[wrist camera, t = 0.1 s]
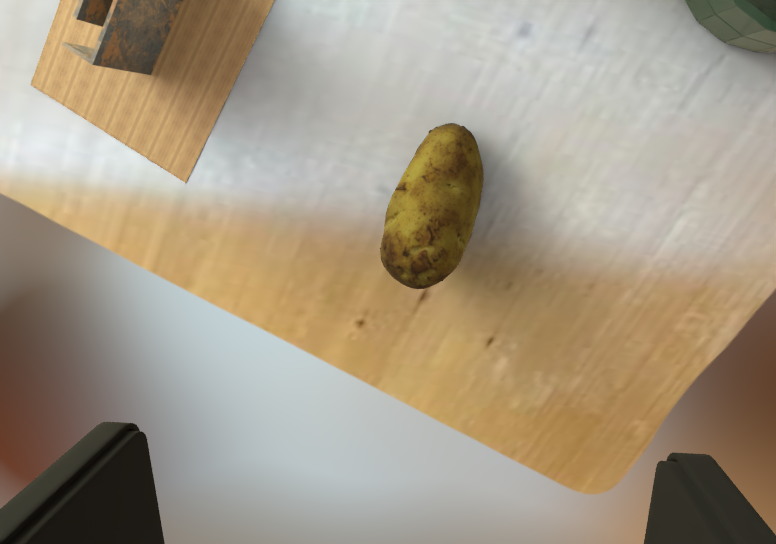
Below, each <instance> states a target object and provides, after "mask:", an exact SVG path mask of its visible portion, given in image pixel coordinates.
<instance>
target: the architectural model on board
mask: <svg viewBox="0 0 776 544" xmlns="http://www.w3.org/2000/svg"><path fill="white" fill-rule="evenodd" d="M273 2H274V0H60V3H59V6H58V9H57V12H56V14H55V17H54V20H53V23H52V26H51V29H50V31H49V34H48V37H47V40H46V43H45V45H44V48H43V51H42V54H41V57H40V60H39V62H38V65H37V68H36V71H35V74H34V77H33V79H32V82H31V85H32V86H34V87H35V88H37V89H38V90H40V91H41V92H43V93H45V94H46V95H48V96H49V97H51V98H53V99H54V100H56V101H57V102H59V103H60V104H62V105H64V106H65V107H67V108H68V109H70V110H71V111H73V112H75V113H76V114H78V115H79V116H81V117H83V118H84V119H86V120H87V121H89V122H90V123H92V124H94V125H95V126H97V127H98V128H100V129H101V130H103V131H105V132H106V133H108V134H109V135H111V136H113V137H114V138H116V139H117V140H119V141H120V142H122V143H124V144H125V145H127V146H128V147H130V148H131V149H133V150H135V151H136V152H138V153H139V154H141V155H143V156H144V157H146V158H147V159H149V160H150V161H152V162H154V163H155V164H157V165H158V166H160V167H161V168H163V169H165V170H166V171H168V172H169V173H171V174H173V175H174V176H176V177H177V178H179V179H180V180H182V181H184V182H185V183H186V181H187V179H188V177H189V175H190V173H191V171H192V169H193V167H194V165H195V163H196V161H197V159H198V157H199V155H200V153H201V150H202V148H203V146H204V144H205V142H206V140H207V138H208V136H209V134H210V132H211V130H212V128H213V126H214V124H215V122H216V120H217V118H218V115H219V113H220V111H221V109H222V107H223V105H224V103H225V101H226V99H227V97H228V95H229V93H230V91H231V89H232V87H233V85H234V83H235V80H236V78H237V76H238V74H239V72H240V70H241V68H242V66H243V64H244V62H245V60H246V58H247V56H248V54H249V52H250V50H251V48H252V45H253V43H254V41H255V39H256V37H257V35H258V33H259V31H260V29H261V27H262V25H263V23H264V21H265V19H266V17H267V15H268V13H269V10H270V8H271V6H272V4H273Z"/></svg>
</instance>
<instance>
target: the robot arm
mask: <svg viewBox="0 0 776 544" xmlns="http://www.w3.org/2000/svg"><path fill="white" fill-rule="evenodd" d="M0 544H164V538H163V532H162V527H161V520H160V514H159V509H158V502H157V496H156V491H155V484H154V478H153V473H152V467H151V461H150V455H149V449H148V443H147V438H146V435H145V434H144V433H143V432H140V431H139V428H138V427H137V425H135V424H133V423H119V422H103V423H101V424H99V425H97V426H96V427H95V428H94V429H93V430H92V431H91V432H89V433H88V434H87V435H86V436H85V437H84V438H82V439H81V440H80V441H79V442H78V443H77V444H75V445H74V446H73V447H72V448H71V449H70V450H68V451H67V452H66V453H65V454H64V455H63V456H61V457H60V458H59V459H58V460H57V461H56V462H54V463H53V464H52V465H51V466H50V467H49V468H48V469H46V470H45V471H44V472H43V473H42V474H41V475H40V476H38V477H37V478H36V479H35V480H34V481H32V482H31V483H30V484H29V485H28V486H27V487H26V488H24V489H23V490H22V491H21V492H20V493H18V494H17V495H16V496H15V497H14V498H13V499H11V500H10V501H9V502H8V503H7V504H6V505H5V506H3V507H2V508H1V509H0ZM644 544H776V535H775V534H774V533H773V532H772V530H771V529H770V528H769V527H768V525H767V524H766V523H765V522H764V520H763V519H762V518H761V517H760V516H759V514H758V513H757V512H756V511H755V509H754V508H753V507H752V506H751V504H750V503H749V502H748V501H747V499H746V498H745V497H744V496H743V494H742V493H741V492H740V491H739V490H738V488H737V487H736V486H735V485H734V484H733V482H732V481H731V480H730V478H729V477H728V476H727V475H726V473H725V472H724V471H723V470H722V469H721V467H720V466H719V465H718V464H717V462H716V461H715V460H714V459H713V458H712V457H711V456H709V455H706V454H687V453H671V454H670V455H669V456H668V458H667V461H660V462H658V464H657V468H656V472H655V479H654V485H653V491H652V497H651V503H650V509H649V516H648V522H647V529H646V534H645V540H644Z"/></svg>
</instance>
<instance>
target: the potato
mask: <svg viewBox="0 0 776 544" xmlns="http://www.w3.org/2000/svg"><path fill="white" fill-rule="evenodd" d="M482 188H483V165H482V161H481V157H480V153H479V150H478V146H477V143H476V141H475V138H474V136H473V135H472V133H471V132H470V131H469V130H467V129H466V128H465V127H464V126H459V125H457V124H453V123H450V124H445V125H442V126H440V127H436V128H434V129H433V130H430V131H429V135H428V136H427V137H426V138H425V140H424V141H423V142H422V144H421V145H420V146H419V148H418V149H417V151H416V153H415V156H414V158H413V159H412V161H411V162H410V164H409V166H408V168H407V169H406V171H405V173H404V174H403V176H402V178H401V180H400V182H399V184H398V186H397V188H396V189H395V192H394V193H393V195H392V197H391V200H390V203H389V205H388V209H387V212H386V219H385V230H384V235H383V238H382V243H381V248H380V249H381V260H382V263H383V265H384V267H385V268H386V269H387V271H388V272H389V273H390V275H391V276H392V277H393V278H394V279H396V280H397V281H399V282H400V283H402V284H404V285H406V286H408V287H410V288H414V289H424V288H428V287H430V286H433V285H435V284H437V283H439V282H440V281H443V280H444V279H445V278H446V277H447V276H448V275H449V274H450V273H451V272H452V271H453V270H454V269H455V268H456V267H457V265H458V264H459V262H460V261H461V258H462V256H463V253H464V251H465V248H466V246H467V243H468V241H469V239H470V237H471V234H472V230H473V226H474V222H475V218H476V215H477V212H478V209H479V205H480V199H481V193H482Z"/></svg>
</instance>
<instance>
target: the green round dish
mask: <svg viewBox="0 0 776 544" xmlns="http://www.w3.org/2000/svg"><path fill="white" fill-rule="evenodd" d="M685 1H686V3H687V5H688V6H689V8H690V10H691V11H692V13H693V15H694V17H695V18H696V20H697V21H698V22H699V23H700V24H701V25H703V26H704V27H705V28H706V29H708V30H709V31H710V32H711V33H713V34H714V35H715V36H716V37H718V38H719V39H720V40H721V41H724V42H725V43H728V44H731V45H734V46H738V47H741V48H744V49H747V50H751V51H754V52H775V51H776V0H685Z"/></svg>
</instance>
